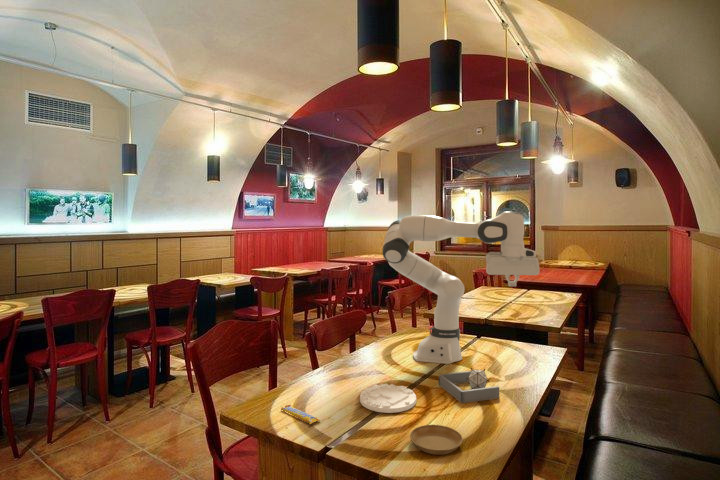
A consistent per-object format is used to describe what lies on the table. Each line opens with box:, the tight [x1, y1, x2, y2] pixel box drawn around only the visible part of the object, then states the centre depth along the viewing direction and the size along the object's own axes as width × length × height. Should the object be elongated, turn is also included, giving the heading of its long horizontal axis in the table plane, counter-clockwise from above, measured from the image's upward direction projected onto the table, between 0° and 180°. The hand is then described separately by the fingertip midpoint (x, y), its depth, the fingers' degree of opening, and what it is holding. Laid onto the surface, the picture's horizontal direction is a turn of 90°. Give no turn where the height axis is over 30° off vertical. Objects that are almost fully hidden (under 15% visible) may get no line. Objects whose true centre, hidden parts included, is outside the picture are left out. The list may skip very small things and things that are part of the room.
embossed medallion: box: [359, 383, 417, 414], centre depth 154 cm, size 20×20×3 cm
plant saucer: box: [409, 424, 464, 456], centre depth 124 cm, size 15×15×3 cm
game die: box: [466, 367, 490, 390], centre depth 164 cm, size 9×8×10 cm
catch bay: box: [438, 370, 500, 404], centre depth 163 cm, size 15×18×4 cm
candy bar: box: [280, 404, 321, 425], centre depth 143 cm, size 17×4×2 cm, turn 46°
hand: (512, 286), depth 175 cm, fingers closed
